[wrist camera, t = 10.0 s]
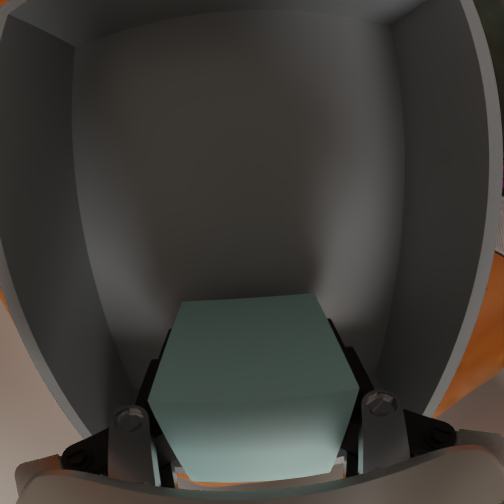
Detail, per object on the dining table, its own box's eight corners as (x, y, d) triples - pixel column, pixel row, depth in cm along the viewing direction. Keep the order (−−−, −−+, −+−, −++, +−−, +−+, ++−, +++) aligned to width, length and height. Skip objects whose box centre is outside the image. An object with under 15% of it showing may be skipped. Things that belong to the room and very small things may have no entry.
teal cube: (181, 301, 10) (147, 400, 6) (313, 292, 10) (359, 387, 6) (202, 391, 12) (191, 481, 7) (307, 384, 12) (330, 472, 7)
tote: (71, 43, 8) (-2, 8, 3) (393, 22, 8) (462, -23, 3) (129, 387, 15) (102, 460, 9) (379, 371, 15) (417, 440, 9)
